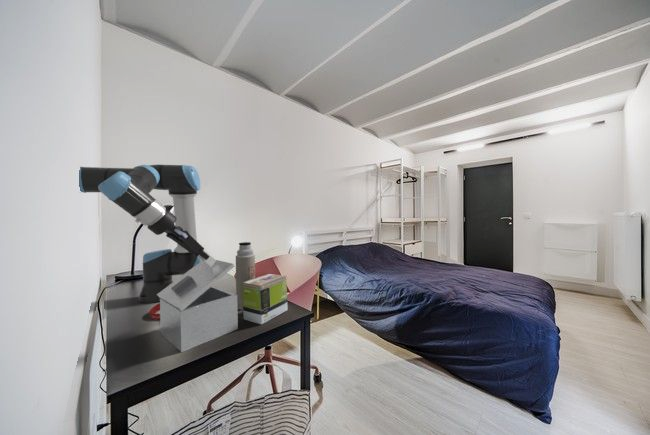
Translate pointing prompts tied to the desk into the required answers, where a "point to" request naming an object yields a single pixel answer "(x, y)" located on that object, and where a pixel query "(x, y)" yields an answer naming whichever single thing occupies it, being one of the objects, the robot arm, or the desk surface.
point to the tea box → (264, 298)
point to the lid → (194, 283)
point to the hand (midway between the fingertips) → (212, 263)
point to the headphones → (152, 312)
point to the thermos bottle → (244, 269)
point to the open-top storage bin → (199, 319)
